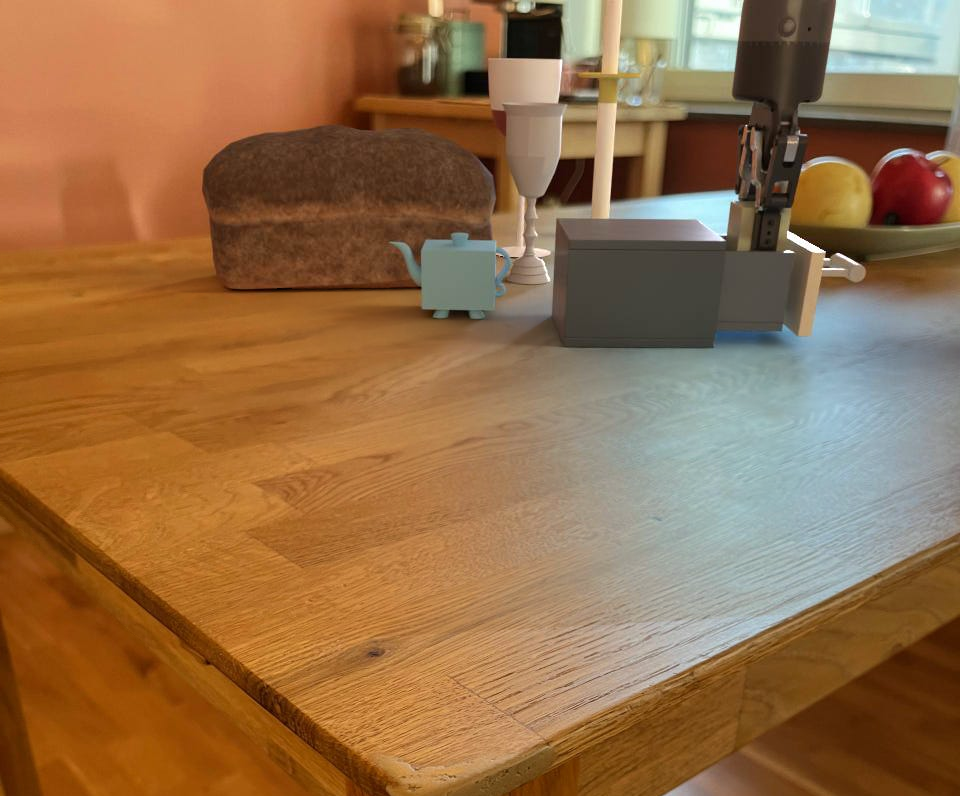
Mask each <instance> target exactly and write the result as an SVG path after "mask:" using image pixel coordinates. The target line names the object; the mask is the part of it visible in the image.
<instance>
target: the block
mask: <svg viewBox="0 0 960 796" xmlns="http://www.w3.org/2000/svg"><path fill="white" fill-rule="evenodd" d="M729 205H730V206H729V213H728V221H727V228H726V229H727V230H726V234H727V237H726V241H727V246H726V251H750V246H751V239H752V231H753V224H754V217H755V213H756V212H755V201H739V200H730V204H729ZM780 214H782V215H781V222H780V229H779V236H778V242H777V249H776V251H785V250H786V243H787V237H788V232H789V230H790V224H791V223H790V222H791V218H792V217H791V216H792V207H791V208H786V210H785V213H780Z"/></svg>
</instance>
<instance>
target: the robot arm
mask: <svg viewBox="0 0 960 796" xmlns="http://www.w3.org/2000/svg"><path fill="white" fill-rule="evenodd" d="M836 7H837V0H742V6H741V13H740V20H739V21H740V22H739V29H738V37H737V38H738V39H737V46H736V55H735V64H734V73H733V81H732V89H731V95H732V98H733V99H734V100H735V101H737V102H746V103H748V102H749V103H753V105H752V107H751V112H750V117H749V119H748V124H740V125H739V127H738V129H737V148H736V163H735V164H736V165H735V166H736V167H735V185H734V194H735V195H737V201H755V212H756V213H755V217H754V224H753V231H752V239H751V246H750V251H776V249H777V242H778V236H779V229H780V222H781V215H782V214H780V213H785V210H786V208H792V207H793V205H794V202H795V197H796V193H797V190H798V189H797V188H798V185H799V181H800V180H799V179H800V177H801V173H802V169H803V168H802V167H803V164H804V159H805V155H806V152H807V147H808V144H809V139H808V138H809V137H808V135H807V134H801V128H800V126H798V125H799V124H798V123H799V122H798V121H799V119H798V118H799V110H798V109H799V105H800V104H802V103H804V104H806V103H807V104H811V103H816V102H818V101H819V100H820V99H821V98H822V96H823V90H824V86H825V85H824V84H825V78H826V71H827V66H828V59H829V52H830V46H831V45H830V44H831V40H832V34H833V28H834V27H833V26H834V20H835V13H836ZM775 186H776V187H777V192H774V189H775Z"/></svg>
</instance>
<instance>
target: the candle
mask: <svg viewBox="0 0 960 796" xmlns="http://www.w3.org/2000/svg"><path fill="white" fill-rule="evenodd" d="M604 8H605V9H604V10H605V11H604V22H603V23H604V25H603V39H602V40H603V41H602V56H601V71H600V72H577V73H576V74H577V77H578V78H585V79H588V78H589V79H590V78H591V79H598V82H599V83H598V99H597V114H596V115H597V116H596V130H595V148H594V160H593V161H594V162H593V163H594V164H593V179H592V180H593V181H592V195H591V196H592V198H591V211H590V212H591V213H590V219H610V207H611V206H610V204H611V189H612V179H613V178H612V177H613V163H614V150H615V149H614V148H615V135H616V119H617V106H618V105H617V104H618V91H619V81H620V80H621V79H640V78H642V75H643V74H642V73H636V72H619V71H618V70H619V69H618V68H619V59H620V58H619V56H620V55H619V54H620V42H621V41H620V40H621V28H622V15H623V14H622V13H623V12H622V11H623V0H605V7H604Z"/></svg>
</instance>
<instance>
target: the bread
mask: <svg viewBox="0 0 960 796" xmlns="http://www.w3.org/2000/svg"><path fill="white" fill-rule="evenodd" d="M201 192H202V196H203V198H204V202H205V206H206V209H207V212H208V219H209V229H210V230H209V231H210V240H211V247H212V261H213V266H214V269H215V274H216V276H217V277H218V278H219V281H220V282H221V283H222V284H223V285H224V287H225V288H227V289H235V290H236V289H237V290H256V289H257V290H258V289H277V288H292V289H390V288H391V289H392V288H421V287H420V286H418V285H417V284H416V283H415V282H414V281H413V280H412V278H411V277H410V275H409V272H408V269H407V266H406V262H405V259H404V257H403V254H402V253H401V251H400V250H399V249H398V248H397V247H396V246H394V245H392V244H390V243H389V242H403V243H405V244H407V245H408V246H409V248H410V249H411V251H412V254H413V257H414V259H415V261H416V263H417V264H418V265H419V266H420V267H421V250H422V248H423V245H424V243H425V241H426V240H452V238H451V234H452V233H467V234H468V239H467V240H487V241H494V240H493V227H492V216H493V212H494V208H495V205H496V201H497V195H496V189H495V182H494V175H493V174H492V173H491V172H490V171H489V170H488V168H487V167H486V166H485V165H484V164H483V162H482V161H481V160H480V159H479V158H478V156H477V155H476V154H474V153H472V152H470V151H469V150H468V149H466V148H465V147H463V146H462V145H461V144H459V143H457V142H455V141H453V140H450V139H448V138H445V137H443V136H440V135H438V134H435V133H433V132H430V131H428V130H425V129H422V128H420V127H397V128H390V129H383V130H367V129H357V128H353V127H350V126H345V125H342V124H339V123H338V124H326V125H325V124H324V125H318V126H314V127H310V128H301V129H295V130H289V131H288V130H287V131H283V132H282V131H275V132H262V133H259V134H255V135H250V136H246V137H244V138H241V139H237V140H235V141H232V142H230V143H228V145H226V146H224V148H222V149H221V150H220V151H218V152H217V153H216V154H215V155H214V156H213V157H212V158H211V159H210V161H209V162H208V164H206V166H205V167H204V168H203V170H202V183H201Z"/></svg>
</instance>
